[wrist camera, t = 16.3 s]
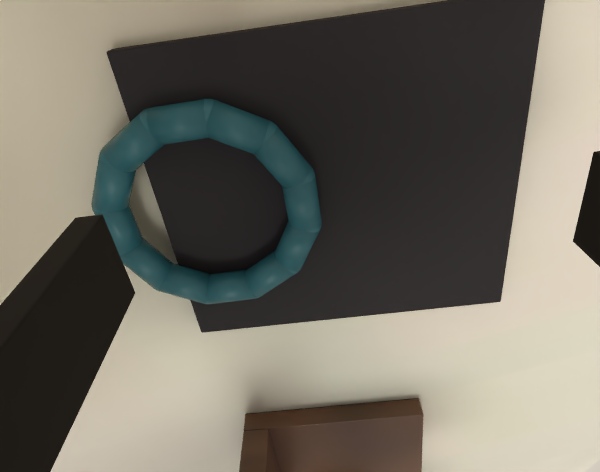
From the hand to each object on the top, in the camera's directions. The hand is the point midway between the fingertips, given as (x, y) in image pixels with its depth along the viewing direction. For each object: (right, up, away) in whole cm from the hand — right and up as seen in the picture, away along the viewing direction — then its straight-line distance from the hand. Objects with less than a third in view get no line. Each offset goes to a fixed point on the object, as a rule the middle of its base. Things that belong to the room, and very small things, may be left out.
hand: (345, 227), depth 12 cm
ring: (-6, +1, +12) cm, 13 cm away
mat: (+1, +2, +13) cm, 13 cm away
